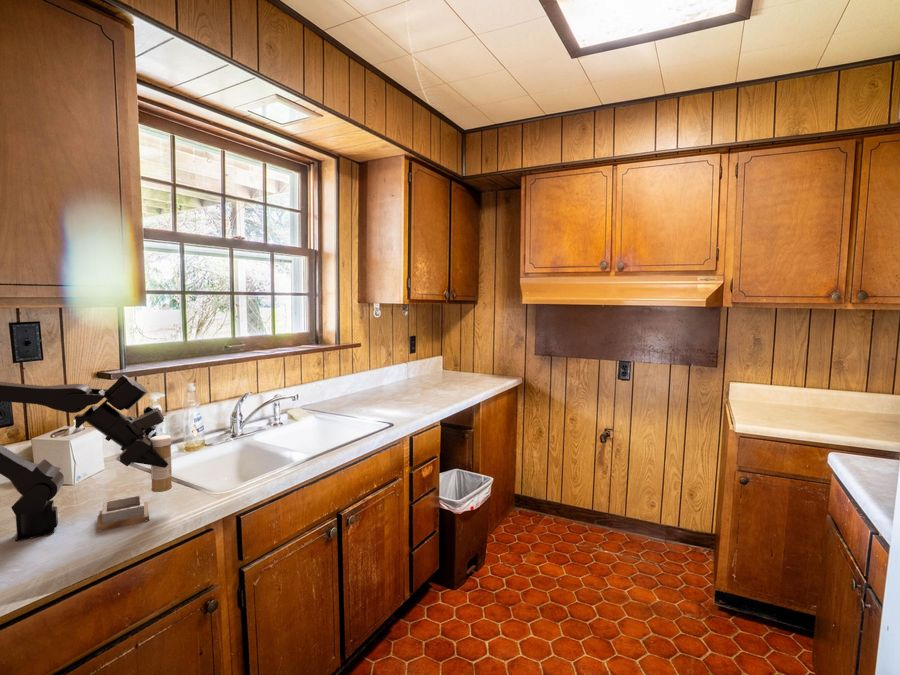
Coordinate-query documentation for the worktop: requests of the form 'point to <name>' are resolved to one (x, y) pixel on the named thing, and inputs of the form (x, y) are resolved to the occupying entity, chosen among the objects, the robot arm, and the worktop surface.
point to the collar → (122, 509)
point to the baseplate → (123, 522)
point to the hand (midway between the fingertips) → (167, 463)
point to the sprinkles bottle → (160, 474)
